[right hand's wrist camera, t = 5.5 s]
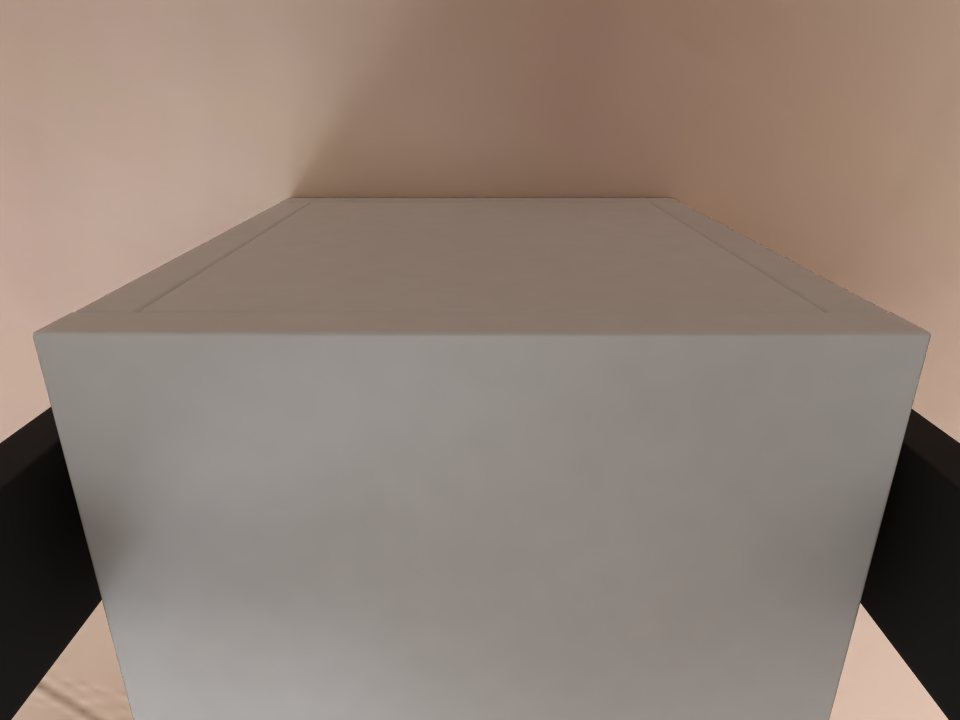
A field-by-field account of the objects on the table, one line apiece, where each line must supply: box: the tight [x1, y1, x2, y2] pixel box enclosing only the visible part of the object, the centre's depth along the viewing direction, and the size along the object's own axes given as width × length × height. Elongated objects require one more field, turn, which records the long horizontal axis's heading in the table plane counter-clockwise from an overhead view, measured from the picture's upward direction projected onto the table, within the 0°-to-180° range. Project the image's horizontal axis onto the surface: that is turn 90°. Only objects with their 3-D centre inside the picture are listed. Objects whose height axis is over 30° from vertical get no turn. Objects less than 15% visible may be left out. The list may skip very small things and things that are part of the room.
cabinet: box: [33, 198, 931, 720], centre depth 17 cm, size 21×10×11 cm, turn 0°
